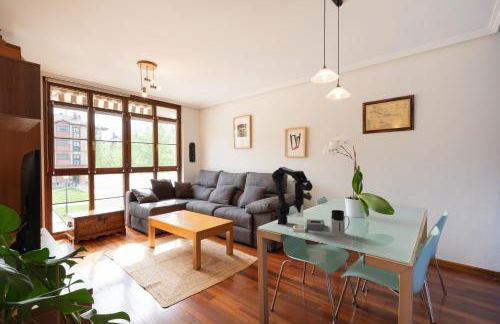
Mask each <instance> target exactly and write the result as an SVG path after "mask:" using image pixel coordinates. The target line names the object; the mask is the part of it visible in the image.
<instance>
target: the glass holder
mask: <svg viewBox="0 0 500 324" xmlns="http://www.w3.org/2000/svg"><path fill="white" fill-rule="evenodd" d="M346 217H347V220H348V223H347V227H345V220H346ZM330 220H331V232H330V235H331V236H332V237H336V236H337V237H338V238H343V237H346V231H347V230H348V229H349V226H350V222H351V221H350V217H349V216H348V215H345V211H344V210H343V209H342V210H341V209H333V210H331V219H330ZM337 237H336V238H337Z"/></svg>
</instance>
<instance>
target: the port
mask: <svg viewBox="0 0 500 324" xmlns="http://www.w3.org/2000/svg"><path fill="white" fill-rule="evenodd" d="M306 230H308V231H326V223H325V220H324V219H308V218H307V219H306Z"/></svg>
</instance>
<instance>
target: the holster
mask: <svg viewBox="0 0 500 324" xmlns="http://www.w3.org/2000/svg"><path fill="white" fill-rule="evenodd" d="M292 232H295V233H296V232H298V233H305V232H306V226H305V225H293V227H292Z"/></svg>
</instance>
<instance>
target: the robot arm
mask: <svg viewBox="0 0 500 324" xmlns="http://www.w3.org/2000/svg"><path fill="white" fill-rule="evenodd" d="M285 175H288V176H290V177H291V179H293V180H292V183H294V199H293V204H294V206H296V208H297V210H298V213H300V211H301V206H302V205H303V206H304V203H305V200H307V201H310V202H311V200H312V199H313V198H312V197H313V195H312V194H311V192H310V191H312V189H313V183H312V182H311V180H308V178H307V176H306V173H305V172H304V171H303V170H294V169H291V168H288V167H286V166H280V167H279V168H278V169H276V170H274V171H273V172H272V174H271V177H272V181H273V182H274V183H275V187H276V193H277V198H278V204H277V210H276V212H275V215H276V217H277V225H287V223H288V216H289V215H290V212H291V211H290V209H291V207H290V204H289V203H288V202H287V201H286V197H285V191H284V186H283V181H284V176H285ZM305 191H306V192H305ZM296 208H295V209H296Z"/></svg>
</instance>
